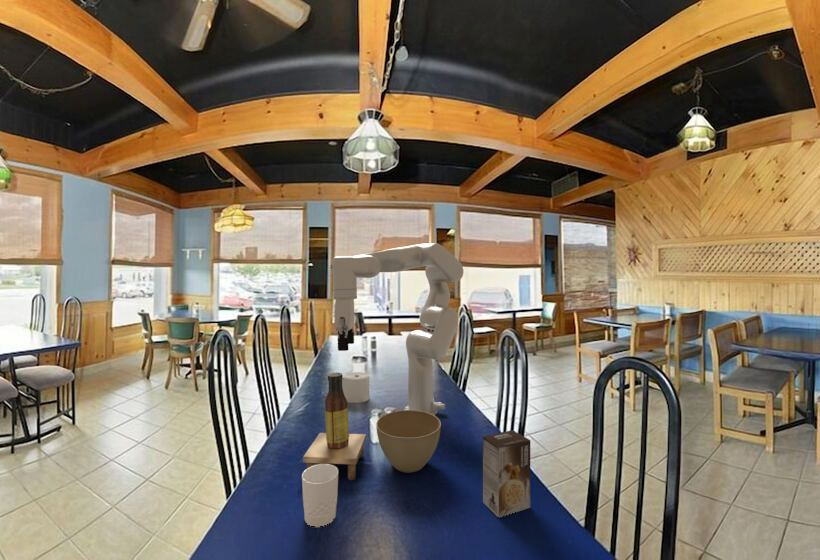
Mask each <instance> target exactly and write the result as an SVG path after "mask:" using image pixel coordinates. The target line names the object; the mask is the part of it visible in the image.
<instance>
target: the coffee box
mask: <svg viewBox="0 0 820 560" xmlns="http://www.w3.org/2000/svg"><path fill="white" fill-rule="evenodd" d="M482 503H483V504H484V505H485V506H486V507H487V508H488V509H489V510H490V511H491V512H492V513H493V514H494V515H495V516H496V517H497V518H498V517H499V518H498V519H500V517H501V518H503V516H504V517H507V516H509V514H510V515H512V513H513V514H515V512H516V513H519V512H521V511H525V510H527V509H531V439H529V438H528V437H526V436H524V435H522V434H521V433H519V432H516V431H515V430H512V429H511V430H507V431H503V432H497V433H493V434H489V435H485V436H484V435H483V436H482ZM506 515H507V516H506Z"/></svg>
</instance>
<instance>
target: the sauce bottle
mask: <svg viewBox="0 0 820 560" xmlns="http://www.w3.org/2000/svg"><path fill="white" fill-rule="evenodd" d="M343 378H344V376H343V373H341V372H331V373H329V374H327V381H328V392H327V394H326V396H325V398H324V399H325V401H324V415H325V433H326V441H327V445H328V447H330V448H333V449H339V448H343V447H345V446H346V445H347V444H348V443H349V434H350V431H349V430H350V429H349V428H350V427H349V409H348V405H349V404H348V402H347V400H346V397H345V395H344V392H343V387H342V379H343Z"/></svg>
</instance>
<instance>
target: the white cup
mask: <svg viewBox="0 0 820 560" xmlns="http://www.w3.org/2000/svg"><path fill="white" fill-rule="evenodd" d="M301 483H302V484H301V486H302V503H303V511H304V514H303V515H304V521H305V524H306V523H307V524H306V525H308V526H309V525H310V526H309V527H311V526H315V527H314V528H321V527H320V526H323V527H325V526H324V525H326V526H328V525H330V524H332V523H333V521H334V520H335V519H336V514H337V504H338V491H339V489H338V488H339V468H338V467H337V466H336V465H334V464H331V463H317V464H315V465H314V466H311V467H309V468H307V467H306V469H305V470H304V471H302V474H301ZM334 518H335V519H334ZM333 519H334V520H333ZM329 523H330V524H329ZM327 524H328V525H327Z"/></svg>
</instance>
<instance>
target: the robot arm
mask: <svg viewBox="0 0 820 560" xmlns="http://www.w3.org/2000/svg"><path fill="white" fill-rule="evenodd" d="M421 267H425V273H424V274H425V277H426V279H427V283H428V285H429V293H428V295H427V299H426V301H425V303H424V305H423V308H422V311H421V313H420V317H419V323H420V325H421V326H422V327H424V329H425V328H426V329H427V330H423V329H414V330H412V331H410V332H409V333H408V335H407V337H406V340H405V348H406V354H407V363H408V364H407V365H408V369H407V370H408V373H407V377H408V378H407V380H408V381H407V382H408V384H407V385H408V389H407V390H408V391H407V393H408V394H407V397H408V400H407V403H408V405H406V406H405V407H404V409H403V410H417V411H423V412H427V413H430V414H432V415H434V416H436V414H437V413H438V410H446V403H442V401H441V402H440V401H438V402H436V401H435V399H434V365H433V360H436V361H439V360H442V359H444V358H445V356H446V355H447V354H448V351H449V349H450V347H451V344H452V342H453V339H454V337H455V334H456V331H457V328H458V324H459V315H458V312H457V311H456V310H455V309H454V308H453V307H450V306H448V305H449V302H450V299H451V292H450V288H449V286H448V283H457V282H460V281H461V279H462V278H463V276H464V266H463V265H462V263H461V261H459V260H458V258H457V257H455V256H454V255H453V254H452V253H451V251H449V250H448V249H446V247H444V246H443V245H441V244H439V243H437V242H429V243H418V244H417V243H416V244H412V245H407V246H400V247H395V248H389V249H385V250H380V251H376V252H375V251H374V252H370V253H363V254H357V255H339V256H338V255H337V256H334V257H333V258H332V287H333V288H332V290H333V293H332V296H333V298H332V299H333V300H334V301H335V302H334V325H333V326H334V331H336V332H337V351H339V352H340V351H342V352H344V351H345V352H346V351H349V344H350V345H353V344H355V332H354V330H355V328H354V326H355V323H356V322H355V319H356V318H355V312H356V311H355V300H356V299H358V286H357V282H358V281H357V278H359V279H371V278H375V277H376V276H378V275H379V274H380V273H397V272H403V271H408V270H411V269H412V270H413V269H417V268H421ZM428 329H429V330H428ZM430 330H433V332H432V331H430Z"/></svg>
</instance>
